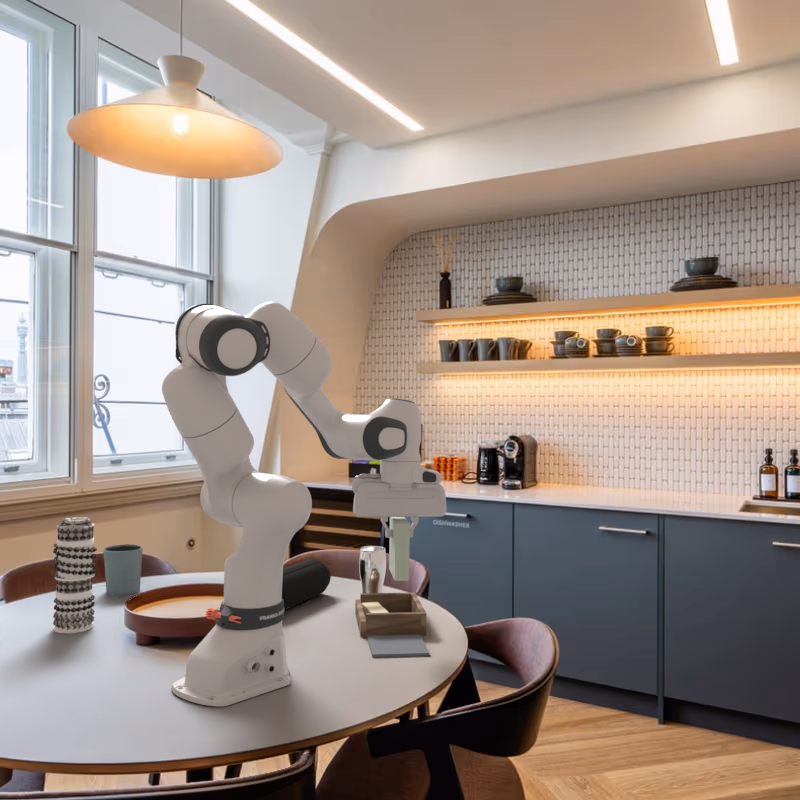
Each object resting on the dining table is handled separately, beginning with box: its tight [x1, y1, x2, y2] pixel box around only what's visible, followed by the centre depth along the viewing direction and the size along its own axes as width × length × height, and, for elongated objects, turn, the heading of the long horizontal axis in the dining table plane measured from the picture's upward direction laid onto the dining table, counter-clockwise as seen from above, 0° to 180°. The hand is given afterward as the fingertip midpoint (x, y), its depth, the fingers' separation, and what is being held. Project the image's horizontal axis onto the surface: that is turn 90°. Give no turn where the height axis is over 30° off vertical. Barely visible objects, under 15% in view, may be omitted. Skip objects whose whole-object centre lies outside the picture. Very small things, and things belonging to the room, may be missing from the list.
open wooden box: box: [354, 592, 428, 638], centre depth 171 cm, size 18×15×5 cm
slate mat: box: [366, 634, 430, 658], centre depth 155 cm, size 12×12×1 cm
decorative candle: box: [52, 516, 98, 635], centre depth 164 cm, size 9×9×25 cm
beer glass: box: [358, 545, 387, 593], centre depth 186 cm, size 7×7×15 cm
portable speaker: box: [282, 558, 332, 610], centre depth 187 cm, size 26×10×10 cm, turn 154°
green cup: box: [102, 543, 144, 597], centre depth 196 cm, size 10×10×12 cm
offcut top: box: [362, 602, 389, 616], centre depth 171 cm, size 11×4×2 cm, turn 19°
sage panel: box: [388, 517, 411, 582], centre depth 156 cm, size 11×3×12 cm, turn 7°
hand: (399, 537), depth 156 cm, fingers closed on sage panel, 3 cm apart
